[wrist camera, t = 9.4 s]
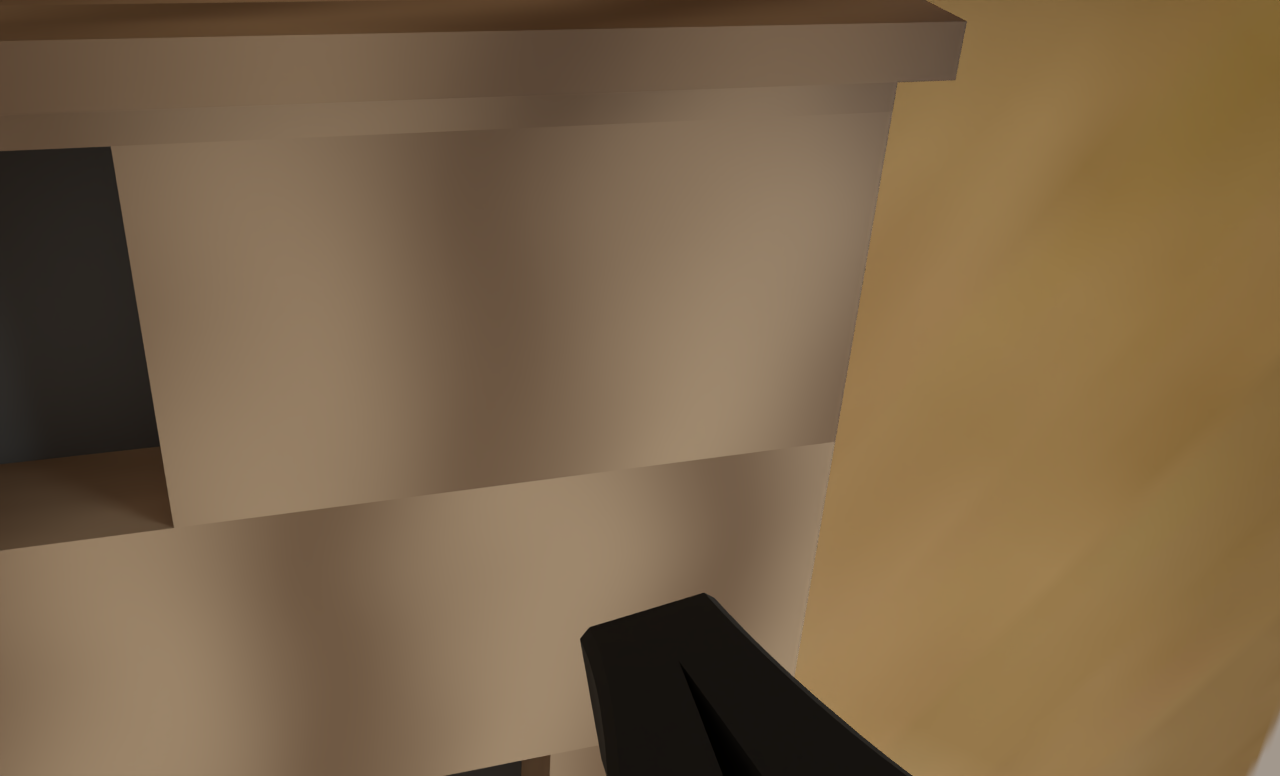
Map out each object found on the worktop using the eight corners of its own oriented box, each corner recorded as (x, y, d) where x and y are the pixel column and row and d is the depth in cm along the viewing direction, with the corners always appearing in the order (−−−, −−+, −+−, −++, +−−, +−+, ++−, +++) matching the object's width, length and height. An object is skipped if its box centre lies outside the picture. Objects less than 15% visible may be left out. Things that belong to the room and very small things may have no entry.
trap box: (837, -45, 20) (1029, 52, 15) (710, 858, 31) (799, 1064, 27) (-1126, -41, 13) (-1803, 136, 9) (-374, 1109, 24) (-498, 1444, 20)
